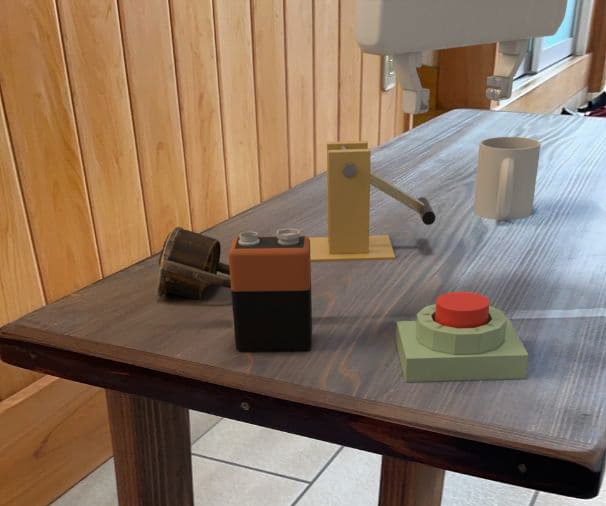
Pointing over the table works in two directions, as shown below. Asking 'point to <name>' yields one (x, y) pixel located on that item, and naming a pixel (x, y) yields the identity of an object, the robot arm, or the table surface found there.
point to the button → (462, 310)
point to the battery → (271, 291)
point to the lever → (403, 197)
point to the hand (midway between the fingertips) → (457, 106)
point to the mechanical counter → (190, 264)
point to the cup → (506, 177)
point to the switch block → (460, 349)
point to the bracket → (349, 208)
